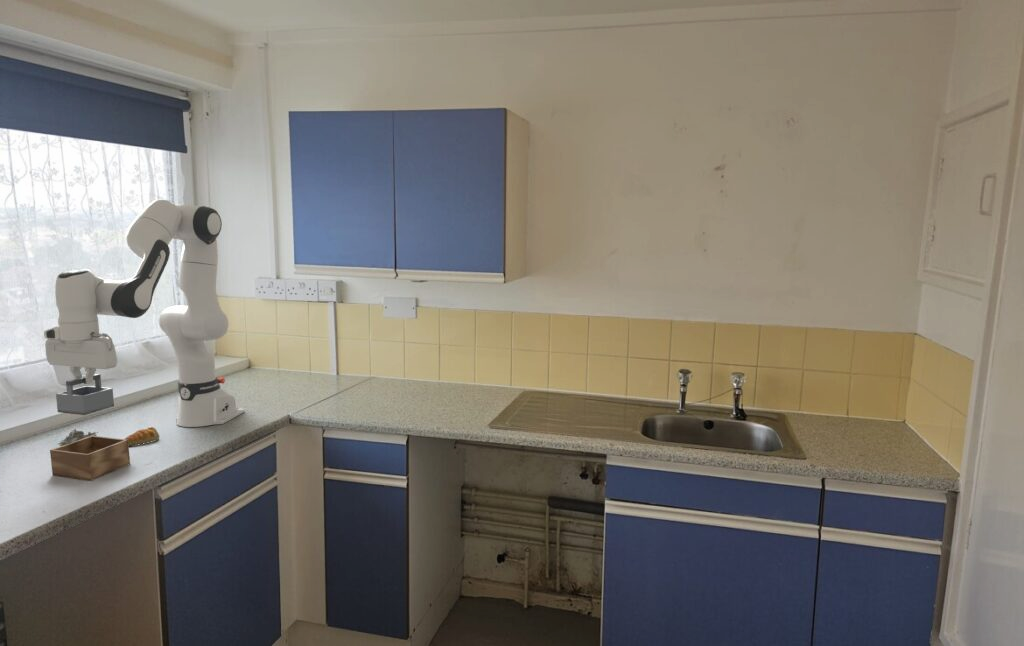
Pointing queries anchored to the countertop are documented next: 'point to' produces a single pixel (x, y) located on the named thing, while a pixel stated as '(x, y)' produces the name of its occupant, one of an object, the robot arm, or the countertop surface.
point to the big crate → (90, 457)
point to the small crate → (84, 397)
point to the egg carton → (75, 437)
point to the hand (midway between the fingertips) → (84, 383)
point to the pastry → (143, 436)
